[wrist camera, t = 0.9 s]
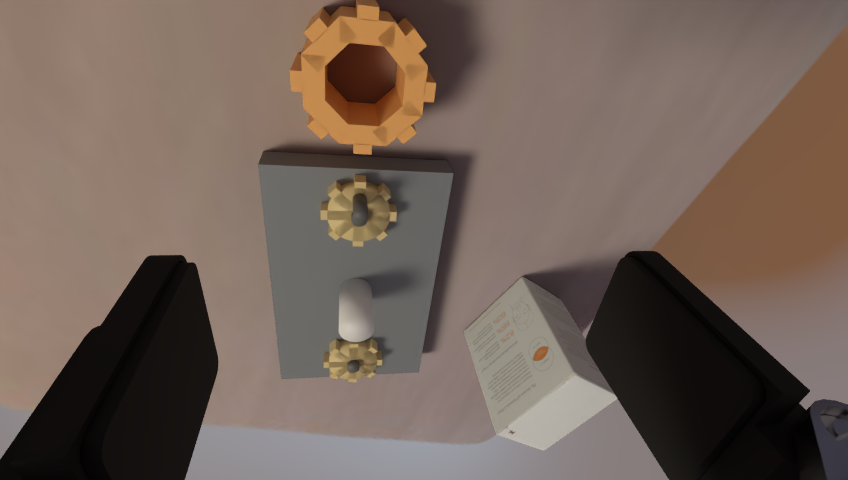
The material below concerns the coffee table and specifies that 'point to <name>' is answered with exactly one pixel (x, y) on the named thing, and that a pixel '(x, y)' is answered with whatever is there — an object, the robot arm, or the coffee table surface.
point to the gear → (353, 118)
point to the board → (352, 259)
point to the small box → (535, 367)
